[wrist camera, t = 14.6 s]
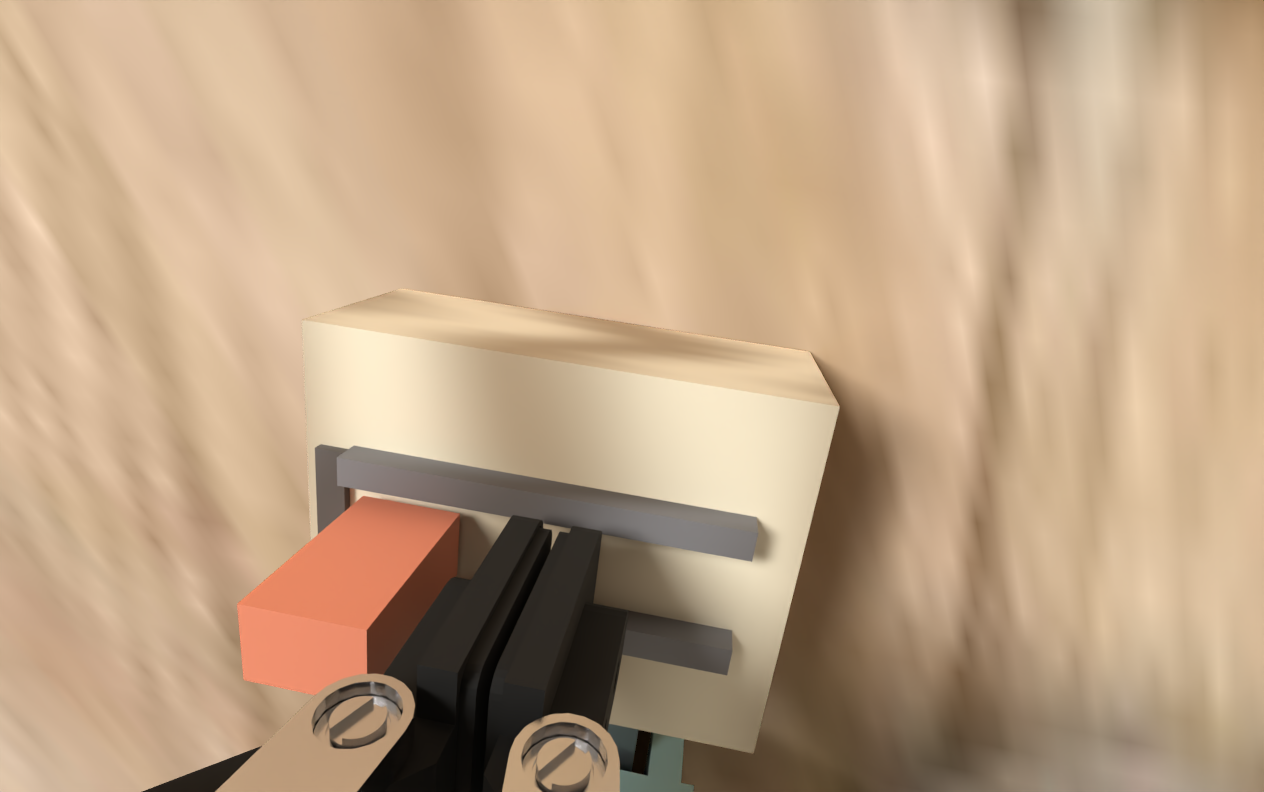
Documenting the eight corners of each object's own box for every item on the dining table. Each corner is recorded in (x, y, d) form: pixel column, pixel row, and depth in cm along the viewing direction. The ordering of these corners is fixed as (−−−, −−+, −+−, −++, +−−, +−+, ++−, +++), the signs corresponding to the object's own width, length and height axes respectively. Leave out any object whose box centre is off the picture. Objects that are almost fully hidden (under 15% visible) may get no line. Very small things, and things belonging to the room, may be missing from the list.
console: (810, 351, 15) (846, 418, 11) (746, 631, 18) (755, 778, 13) (401, 288, 16) (280, 326, 11) (398, 564, 18) (299, 681, 14)
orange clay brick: (460, 513, 12) (366, 630, 9) (457, 574, 13) (367, 705, 10) (362, 495, 13) (236, 604, 9) (364, 556, 13) (243, 679, 10)
